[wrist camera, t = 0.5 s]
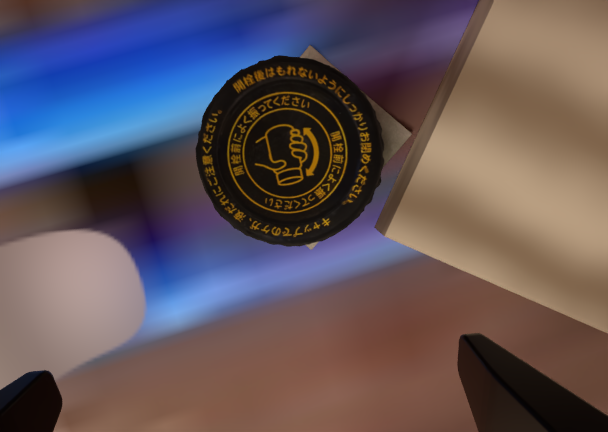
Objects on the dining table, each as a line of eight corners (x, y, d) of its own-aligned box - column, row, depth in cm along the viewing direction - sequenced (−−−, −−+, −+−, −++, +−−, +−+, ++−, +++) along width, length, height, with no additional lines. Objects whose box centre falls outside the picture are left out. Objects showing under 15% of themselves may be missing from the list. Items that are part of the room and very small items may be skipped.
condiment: (212, 166, 23) (110, 166, 11) (310, 45, 22) (315, -96, 10) (311, 249, 23) (317, 334, 12) (410, 134, 23) (526, 98, 11)
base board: (623, 335, 24) (668, 359, 21) (374, 227, 23) (384, 236, 20) (767, 76, 22) (839, 62, 19) (502, -50, 21) (534, -85, 18)
